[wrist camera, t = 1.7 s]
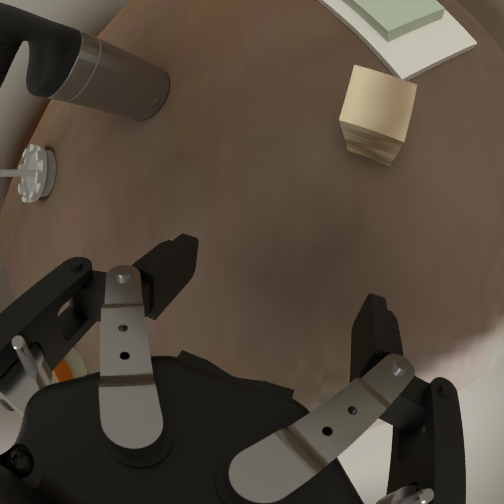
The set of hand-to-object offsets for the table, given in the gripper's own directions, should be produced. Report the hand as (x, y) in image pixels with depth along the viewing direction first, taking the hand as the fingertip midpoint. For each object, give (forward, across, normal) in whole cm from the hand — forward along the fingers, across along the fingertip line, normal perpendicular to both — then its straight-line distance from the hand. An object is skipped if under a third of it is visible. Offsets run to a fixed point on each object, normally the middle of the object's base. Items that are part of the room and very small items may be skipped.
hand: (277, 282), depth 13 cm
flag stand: (+29, +58, +12) cm, 66 cm away
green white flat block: (+28, -4, -26) cm, 38 cm away
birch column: (+23, -5, -7) cm, 24 cm away
